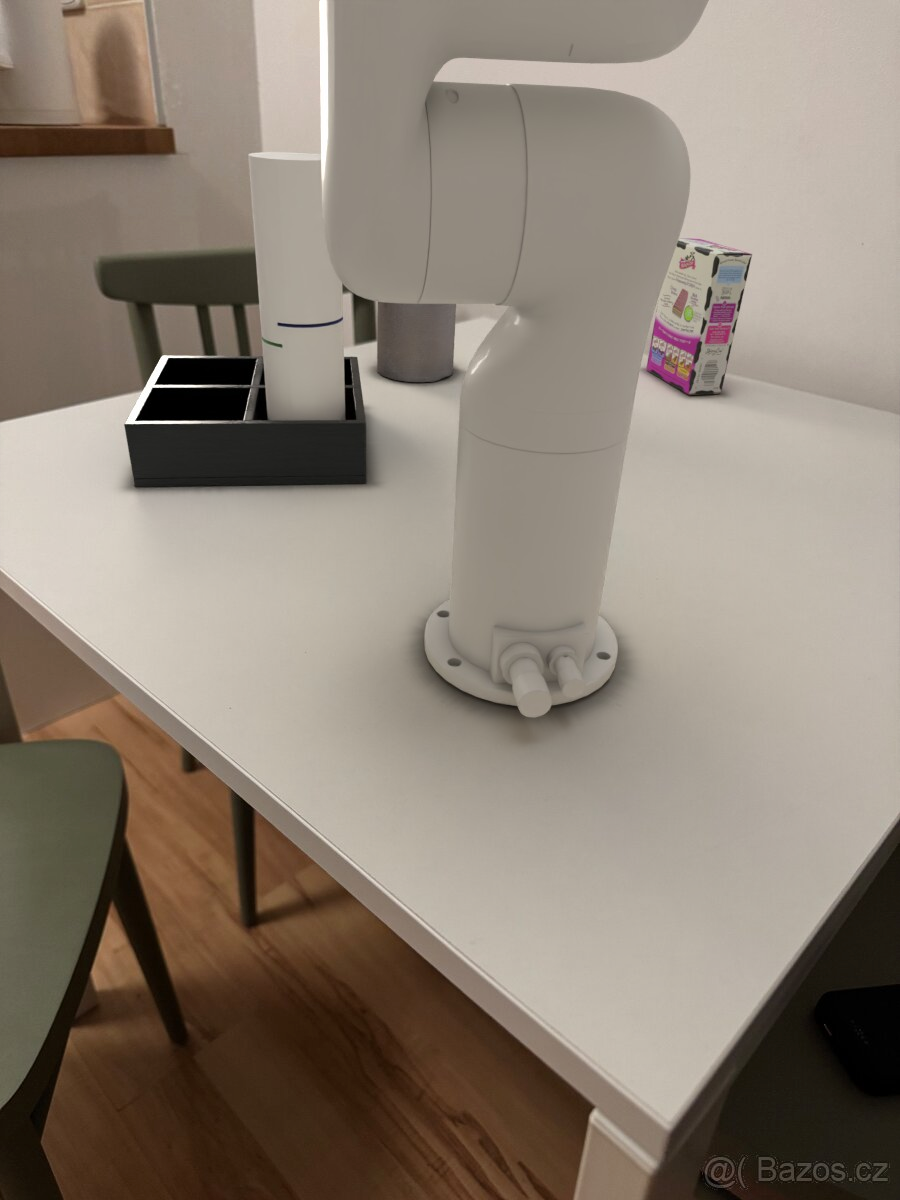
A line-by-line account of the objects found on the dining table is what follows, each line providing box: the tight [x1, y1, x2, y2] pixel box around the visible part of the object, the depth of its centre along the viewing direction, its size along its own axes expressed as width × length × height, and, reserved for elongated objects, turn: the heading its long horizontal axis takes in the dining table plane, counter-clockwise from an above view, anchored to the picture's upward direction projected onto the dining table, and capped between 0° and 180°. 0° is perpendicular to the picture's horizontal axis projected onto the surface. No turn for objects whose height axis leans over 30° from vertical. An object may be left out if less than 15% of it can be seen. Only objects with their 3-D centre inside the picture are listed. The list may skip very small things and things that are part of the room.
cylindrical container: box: [247, 151, 345, 420], centre depth 73 cm, size 7×7×25 cm
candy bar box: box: [645, 237, 753, 396], centre depth 103 cm, size 11×5×16 cm, turn 17°
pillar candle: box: [376, 301, 457, 383], centre depth 102 cm, size 10×10×15 cm
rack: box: [123, 355, 368, 488], centre depth 82 cm, size 20×20×6 cm
